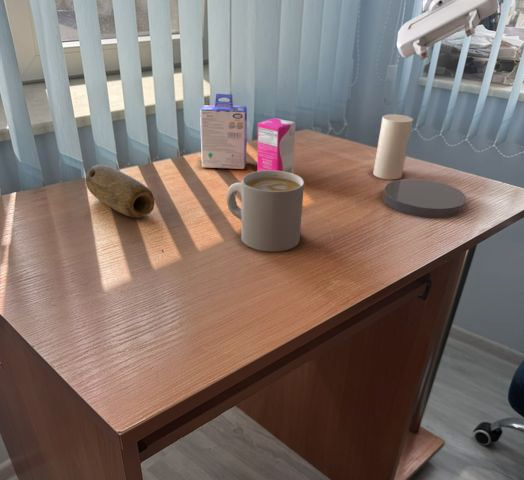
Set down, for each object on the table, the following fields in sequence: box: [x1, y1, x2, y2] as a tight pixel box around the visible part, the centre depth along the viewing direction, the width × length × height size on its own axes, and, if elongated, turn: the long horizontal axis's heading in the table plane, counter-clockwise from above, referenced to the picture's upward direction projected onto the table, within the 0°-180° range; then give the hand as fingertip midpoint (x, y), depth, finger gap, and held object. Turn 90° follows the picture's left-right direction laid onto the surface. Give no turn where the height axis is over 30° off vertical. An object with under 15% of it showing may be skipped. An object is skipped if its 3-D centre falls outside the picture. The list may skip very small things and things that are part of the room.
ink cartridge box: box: [199, 93, 248, 170], centre depth 114 cm, size 10×6×14 cm, turn 89°
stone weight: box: [85, 164, 155, 218], centre depth 95 cm, size 15×7×7 cm, turn 49°
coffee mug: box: [226, 170, 305, 252], centre depth 87 cm, size 13×10×10 cm
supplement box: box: [256, 117, 296, 174], centre depth 109 cm, size 6×6×12 cm
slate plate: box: [382, 178, 467, 219], centre depth 104 cm, size 16×16×2 cm
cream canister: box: [372, 113, 414, 180], centre depth 113 cm, size 6×6×12 cm
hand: (446, 44), depth 106 cm, fingers open, 8 cm apart
